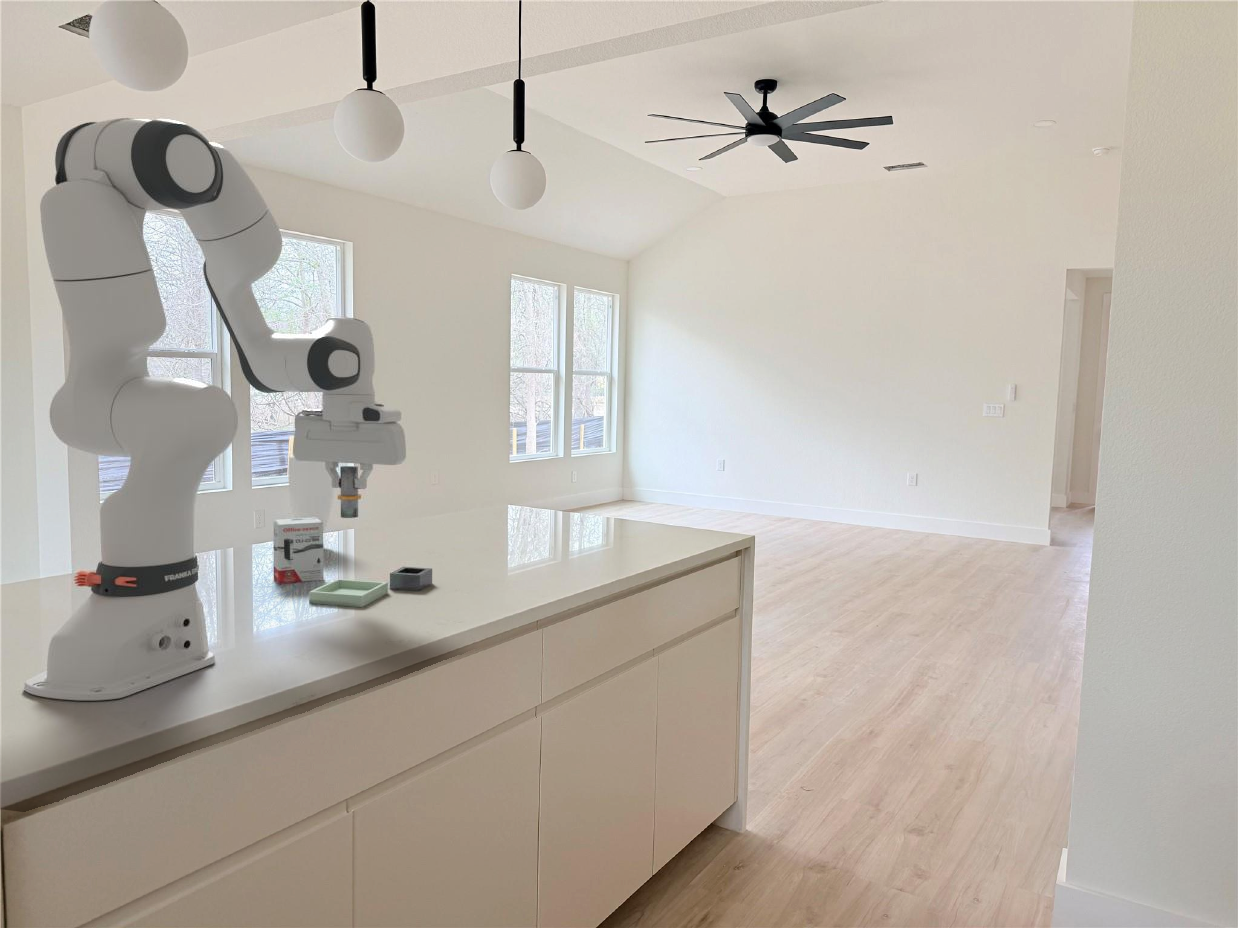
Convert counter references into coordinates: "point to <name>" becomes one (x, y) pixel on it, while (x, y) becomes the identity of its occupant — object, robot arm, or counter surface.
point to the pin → (349, 492)
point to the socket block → (411, 578)
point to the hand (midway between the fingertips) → (349, 488)
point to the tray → (348, 592)
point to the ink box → (298, 550)
